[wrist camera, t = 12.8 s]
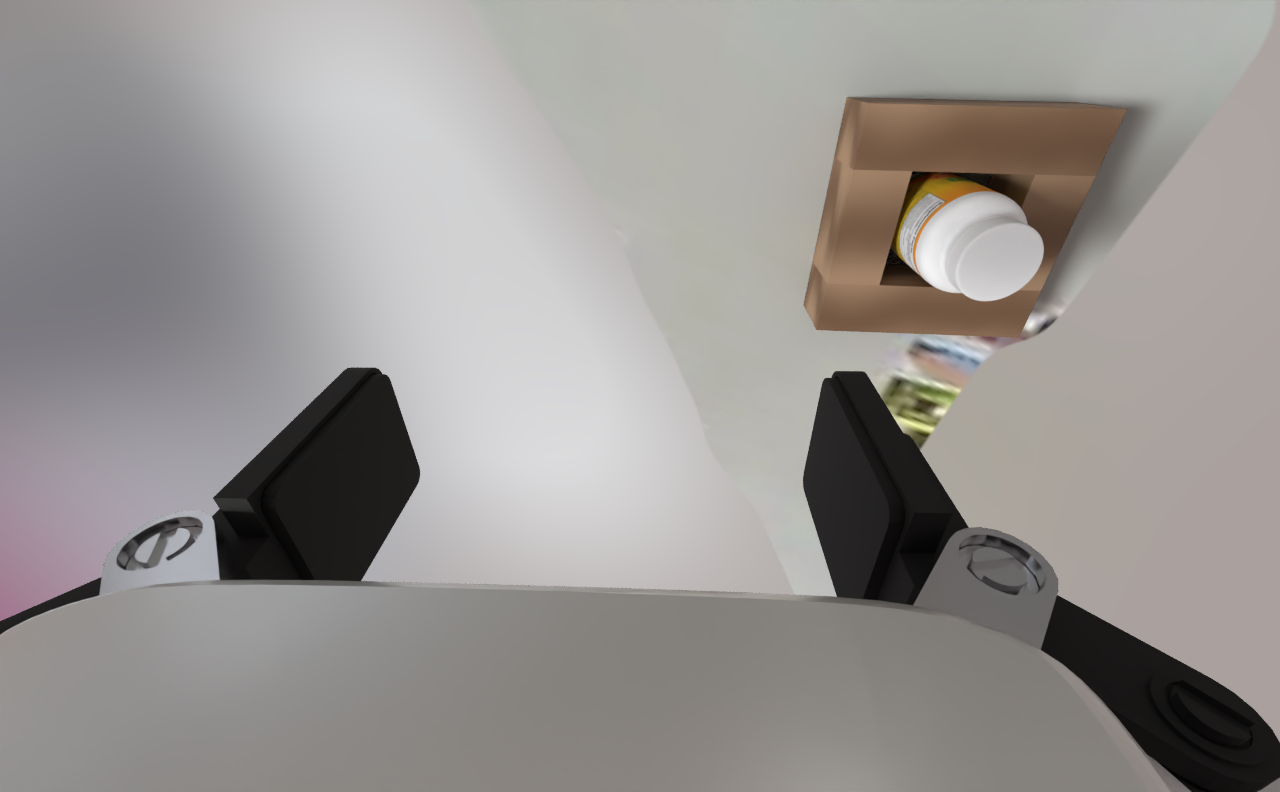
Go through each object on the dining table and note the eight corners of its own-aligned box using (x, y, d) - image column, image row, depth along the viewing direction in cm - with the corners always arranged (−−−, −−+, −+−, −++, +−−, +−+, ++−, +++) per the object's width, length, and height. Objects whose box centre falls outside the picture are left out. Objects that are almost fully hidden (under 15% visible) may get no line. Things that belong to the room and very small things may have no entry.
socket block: (846, 97, 30) (868, 103, 27) (1076, 102, 30) (1127, 109, 26) (803, 305, 37) (816, 329, 34) (987, 311, 37) (1018, 337, 34)
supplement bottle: (985, 191, 33) (1088, 238, 24) (925, 266, 35) (1000, 330, 27) (916, 152, 32) (1000, 186, 23) (859, 233, 34) (918, 288, 26)
